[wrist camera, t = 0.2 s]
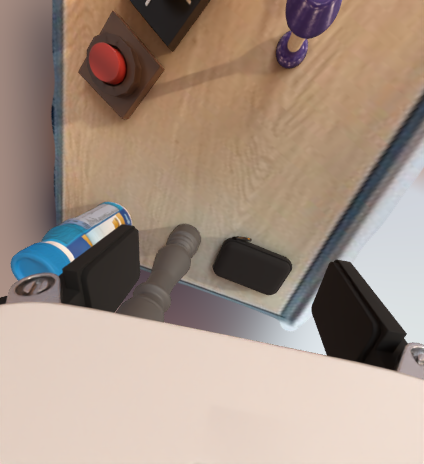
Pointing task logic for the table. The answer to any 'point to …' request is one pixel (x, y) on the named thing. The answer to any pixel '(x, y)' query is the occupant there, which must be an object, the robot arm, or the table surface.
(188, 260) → the candle holder
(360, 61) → the table surface
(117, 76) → the power button
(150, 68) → the switch box
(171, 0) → the dimmer
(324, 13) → the toy lamp
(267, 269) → the carrying case
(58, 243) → the beverage bottle
